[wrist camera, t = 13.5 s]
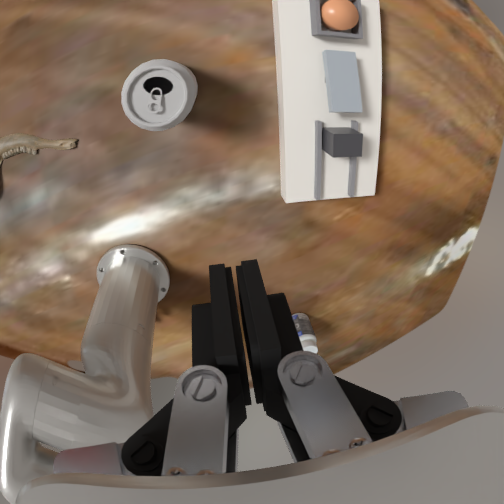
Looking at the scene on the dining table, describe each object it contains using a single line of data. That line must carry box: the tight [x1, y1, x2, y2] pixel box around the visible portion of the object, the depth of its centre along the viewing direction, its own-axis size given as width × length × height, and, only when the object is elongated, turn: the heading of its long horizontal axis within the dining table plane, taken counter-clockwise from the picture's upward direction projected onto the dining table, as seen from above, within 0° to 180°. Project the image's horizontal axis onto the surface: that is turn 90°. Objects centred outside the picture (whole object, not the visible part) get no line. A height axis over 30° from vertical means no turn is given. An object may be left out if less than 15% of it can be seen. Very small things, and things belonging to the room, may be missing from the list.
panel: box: [272, 0, 382, 203], centre depth 36 cm, size 30×14×5 cm, turn 3°
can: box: [122, 59, 198, 131], centre depth 30 cm, size 8×8×12 cm
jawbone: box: [0, 133, 78, 165], centre depth 34 cm, size 9×20×2 cm, turn 107°
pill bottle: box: [292, 313, 318, 353], centre depth 57 cm, size 5×5×8 cm
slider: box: [322, 127, 363, 158], centre depth 37 cm, size 3×4×4 cm
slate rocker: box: [322, 50, 362, 113], centre depth 32 cm, size 8×4×1 cm, turn 3°
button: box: [320, 0, 359, 31], centre depth 28 cm, size 4×4×2 cm
